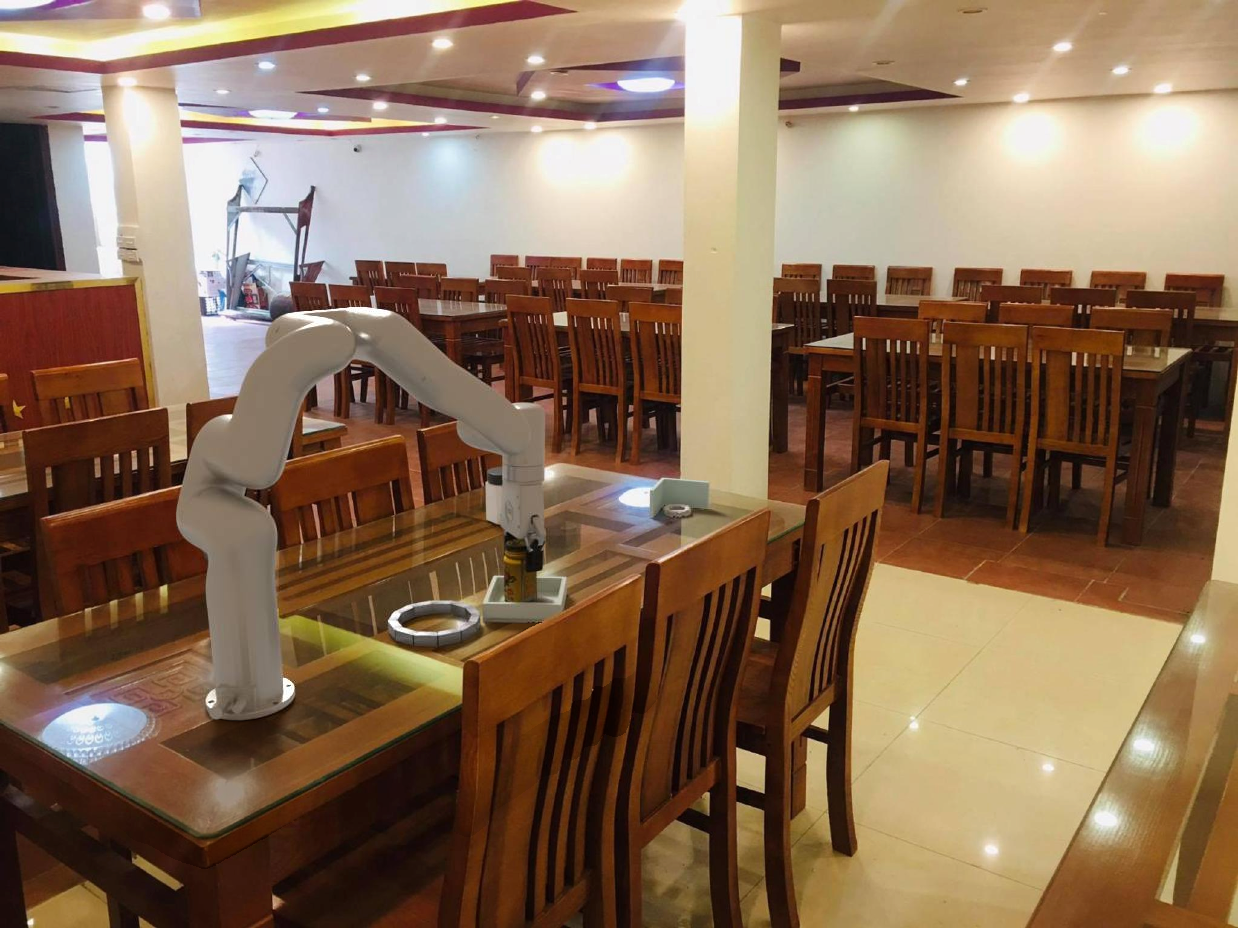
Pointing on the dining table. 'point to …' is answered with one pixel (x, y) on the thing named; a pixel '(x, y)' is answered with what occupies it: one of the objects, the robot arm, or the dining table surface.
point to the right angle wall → (678, 496)
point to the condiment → (519, 575)
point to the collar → (434, 637)
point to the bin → (519, 610)
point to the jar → (493, 494)
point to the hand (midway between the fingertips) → (523, 563)
